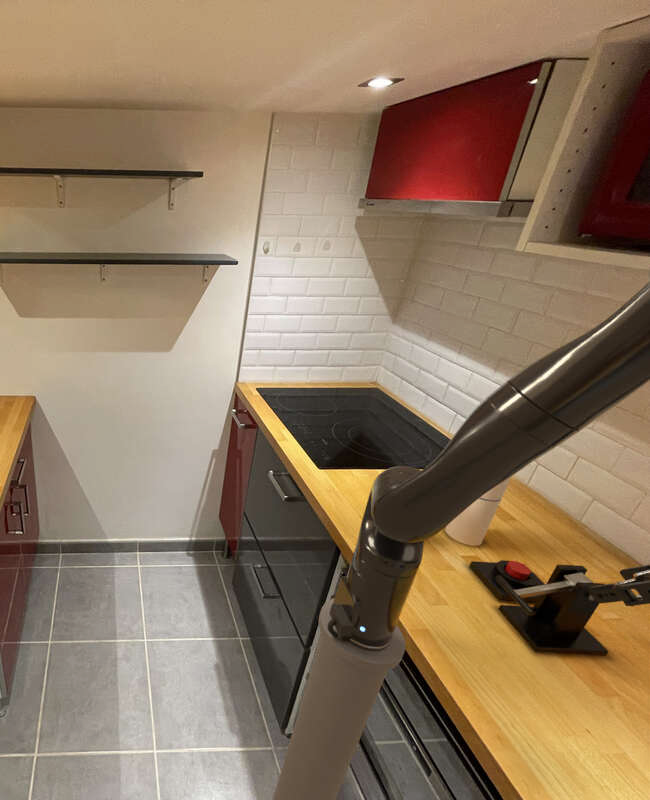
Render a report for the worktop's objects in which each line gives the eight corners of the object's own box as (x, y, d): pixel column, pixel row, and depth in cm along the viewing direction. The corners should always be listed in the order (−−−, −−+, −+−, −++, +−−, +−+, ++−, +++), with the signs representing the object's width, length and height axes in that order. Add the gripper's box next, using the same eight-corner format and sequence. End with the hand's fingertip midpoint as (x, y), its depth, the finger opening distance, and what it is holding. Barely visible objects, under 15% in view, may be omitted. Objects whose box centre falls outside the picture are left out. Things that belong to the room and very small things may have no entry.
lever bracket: (534, 651, 79) (568, 595, 73) (498, 609, 87) (526, 555, 81) (605, 656, 78) (645, 599, 72) (562, 612, 86) (594, 558, 80)
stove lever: (528, 619, 76) (528, 609, 75) (494, 582, 83) (494, 573, 83) (608, 605, 74) (609, 595, 73) (566, 569, 81) (567, 559, 80)
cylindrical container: (438, 528, 108) (473, 438, 98) (459, 522, 110) (496, 434, 100) (467, 548, 102) (508, 454, 91) (489, 541, 104) (532, 449, 94)
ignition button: (513, 580, 89) (516, 573, 89) (500, 566, 93) (503, 560, 92) (532, 581, 89) (535, 574, 89) (518, 567, 93) (521, 561, 92)
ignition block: (498, 601, 88) (505, 588, 87) (468, 567, 97) (474, 554, 95) (556, 604, 88) (563, 591, 87) (521, 569, 96) (527, 557, 95)
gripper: (758, 518, 57) (614, 548, 71) (705, 550, 52) (562, 575, 66) (817, 578, 54) (654, 596, 67) (766, 617, 49) (602, 629, 63)
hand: (609, 586), depth 67 cm, fingers open, 8 cm apart
